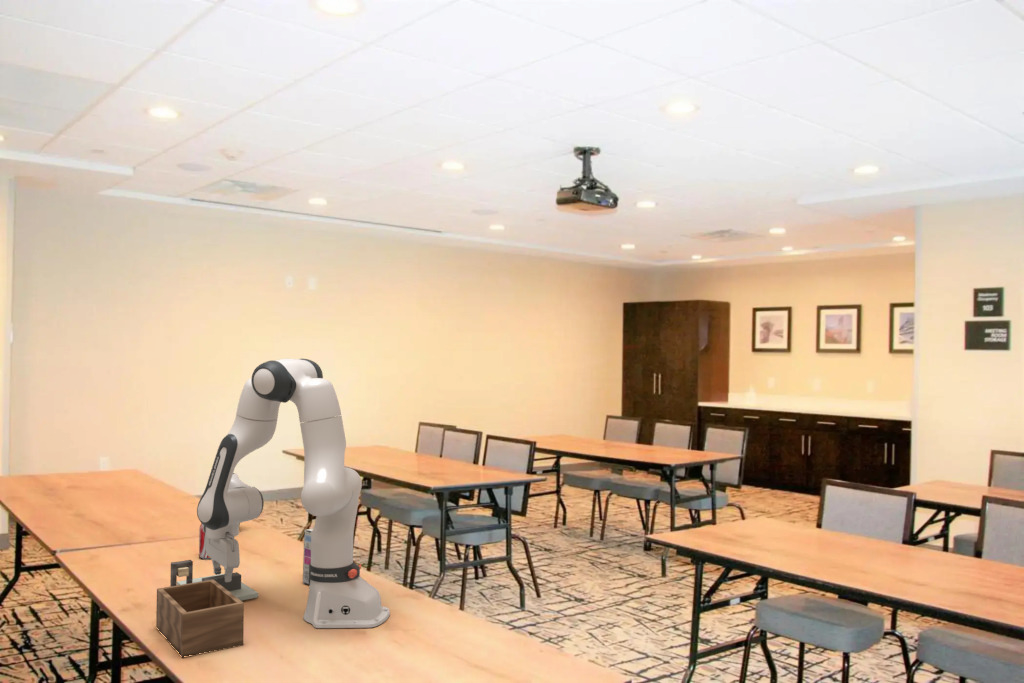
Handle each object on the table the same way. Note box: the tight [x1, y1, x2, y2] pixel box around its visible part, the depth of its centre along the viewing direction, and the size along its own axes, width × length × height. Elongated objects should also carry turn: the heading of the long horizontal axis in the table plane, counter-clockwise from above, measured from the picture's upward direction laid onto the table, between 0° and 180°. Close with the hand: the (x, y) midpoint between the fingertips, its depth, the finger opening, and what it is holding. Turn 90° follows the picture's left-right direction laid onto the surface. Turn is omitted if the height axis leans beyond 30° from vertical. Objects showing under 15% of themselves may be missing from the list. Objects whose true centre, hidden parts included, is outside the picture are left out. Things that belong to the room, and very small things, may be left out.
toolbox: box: [155, 559, 245, 657], centre depth 195 cm, size 29×14×15 cm, turn 38°
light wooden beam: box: [177, 566, 189, 578], centre depth 207 cm, size 8×2×2 cm, turn 38°
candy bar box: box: [302, 527, 314, 587], centre depth 239 cm, size 11×5×16 cm, turn 141°
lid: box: [177, 571, 259, 602], centre depth 226 cm, size 25×15×6 cm, turn 39°
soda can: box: [198, 522, 212, 560], centre depth 265 cm, size 6×6×12 cm
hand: (222, 577), depth 224 cm, fingers open, 8 cm apart
